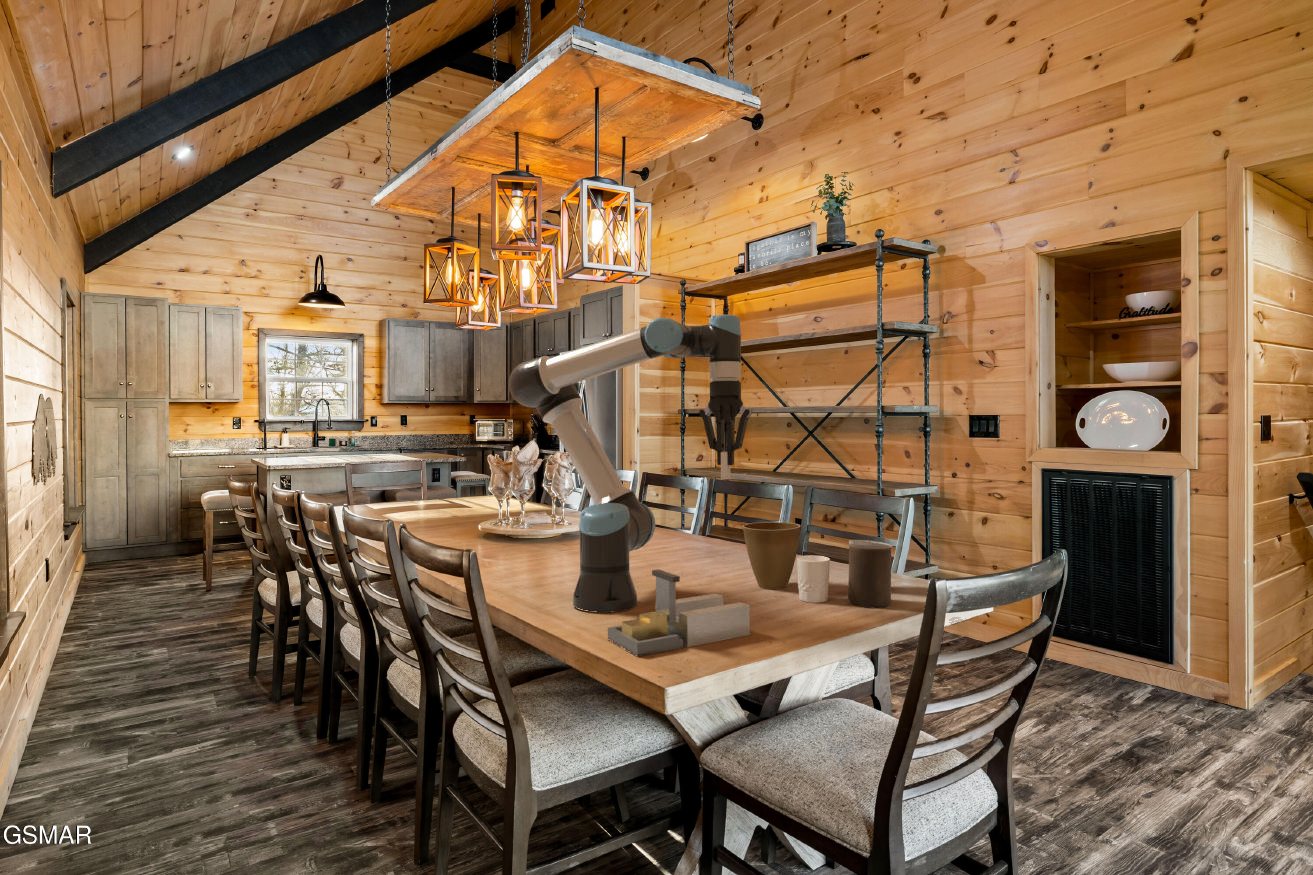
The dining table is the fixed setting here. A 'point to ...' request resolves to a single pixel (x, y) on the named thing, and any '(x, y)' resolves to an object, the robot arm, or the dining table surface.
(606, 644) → the dining table surface
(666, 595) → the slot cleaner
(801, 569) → the white cup
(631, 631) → the brass chip
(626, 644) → the tray
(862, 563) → the pillar candle
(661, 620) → the brass chip
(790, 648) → the dining table surface
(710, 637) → the slotted rail
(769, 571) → the plant pot
